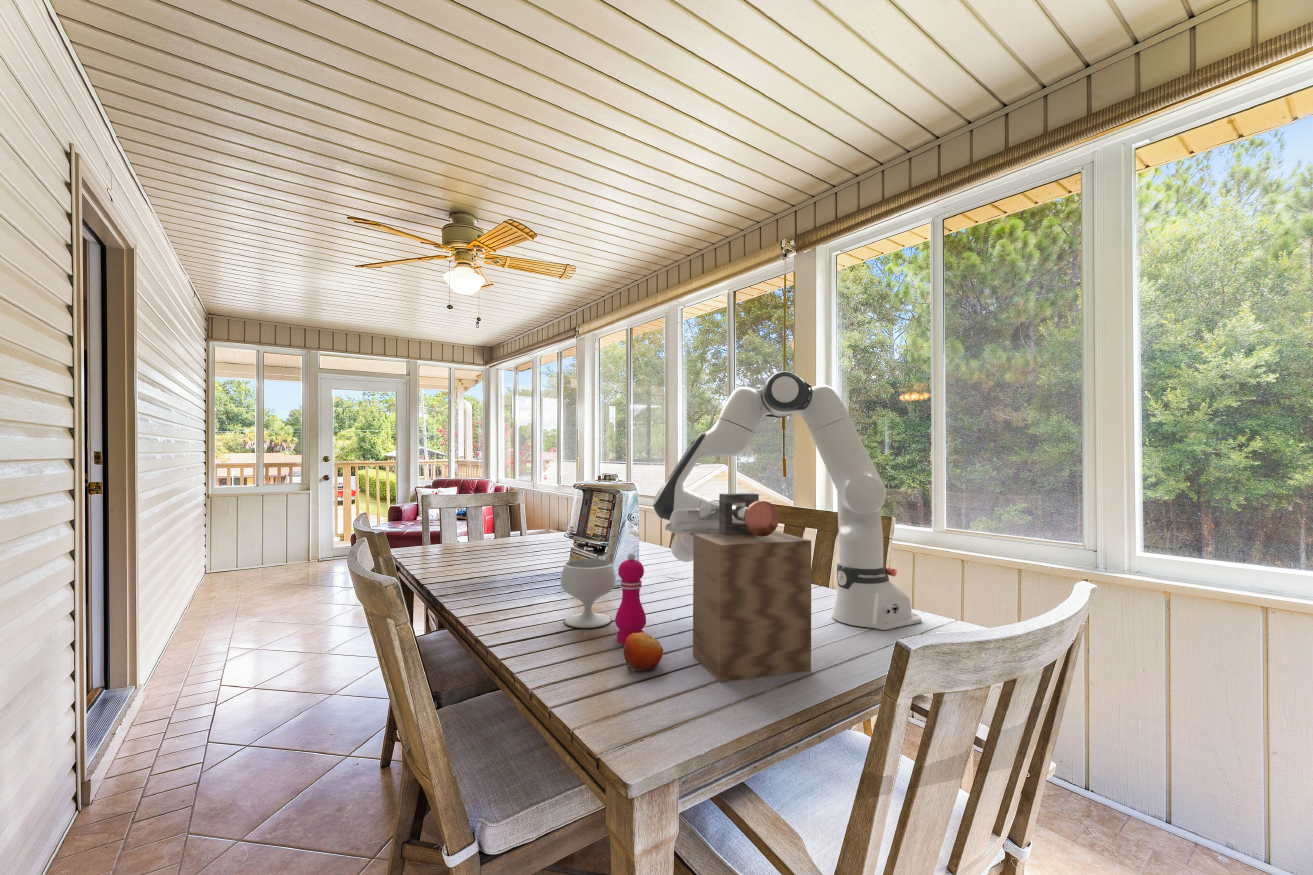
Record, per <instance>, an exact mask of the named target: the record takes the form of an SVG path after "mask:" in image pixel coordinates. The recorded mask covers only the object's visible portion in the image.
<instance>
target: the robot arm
mask: <svg viewBox="0 0 1313 875" xmlns="http://www.w3.org/2000/svg"><path fill="white" fill-rule="evenodd" d="M793 414H798V415H799V416H800V417H801V418H802V419H803V420H804V422H805V424H806V426H807V428H808V431H809V433H810V435H811V438H812V439H813V441H814V444H815V447H816V449H817V451H818V453H819V455H820V458H821V460H822V462H823V463H824V465H825V468H826V470H827V473H828V474H829V476H830V478H831V480H832V483H833V485H834V487H835V489H836V491H837V492H836V493H837V495H836V496H837V497H836V498H837V529H838V563H836V580H837V591H836V598H835V599H836V600H835V604H834V607H833V612H832V615H831V617H832V618H833V619H834V620H836V621H838V622H840V623H843V624H846V625H850V626H856V627H863V628H864V627H865V628H871V629H877V630H880V631H881V630H883V631H887V630H891V629H896V627H897V628H899V627H905V626H910V625H914V624H920V623H922V618H921V616H919V615H918V614H916V613H915V612H912V611H913V610H912V604H911V601H910V600H911V599H910V597H909V596H908V595H907V594H906V593H905V592H904V591H903V590H902V589H901V588H899V587H898V586H896V585H895V584H894V583H892V582H891V581H890V578H889V576H891V577H896V576H897V574H898V571H897V569H896V568H892V567H885V566H884V534H883V525H882V524H883V523H882V513H881V512H882V511H881V508H883V506H884V503H885V502H886V499H887V489H886V485H885V484H884V482H883V480H882V478H881V476H880V474H879V471H878V470H877V468H876V466H875V464H874V462H873V460H872V458H871V457H870V455H869V452H867V451H868V450H866V448H865V446H864V443H863V442H862V439H861V437H860V435H859V433H858V431H857V429H856V427H855V424H854V422H853V421H852V418H851V416H850V414H849V412H848V410H847V408H846V406H845V404H844V403H843V401H842V399H841V397H839V395H838V394H837V392H836V391H835V389H834V388H833V387H831V386H830V385H827V384H818V385H814V386H812V385H811V384H810V383H809V382H807V381H805V380H804V379H803V378H801V377H800V376H798V375H797V374H795V373H793V372H791V371H787V370H786V371H785V370H783V371H778V372H775V373H773V374H772V375H771V376H770V377H768V378H767V379H766V381H765V383H764V385H763V386H762V387H761V388H760V389H754V388H752V387H747V386H740V387H737V388H735V389H734V390H733V391H732V392H731V394H730V396H729V397H728V399H727V400H726V402H725V403H724V405H723V407H722V409H721V411H720V413H719V415H718V417H717V420H716V421H715V423H714V425H713V426H712V427H711V428H710V429H708V430H707V431H703V432H699V433H698V434H697V436H695V438H694V439H693V441H691V443H690V445H689V446H688V448H687V449H686V451H685V452H684V454H683V455H682V456H681V459H680V460H679V461H678V463H677V464H676V466H675V468H674V469H673V471H672V472H671V473H670V475H669V477H668V478H667V480H665V483H664V484H662V486H661V487H660V488H659V489H658V490H657V492H656V494H655V496H654V499H653V504H652V506H653V509H654V511H655V513H656V515H657V516H658V518H660V519H663V520H666V521H669V522H668V523H667V524H666V525H665V526H664V529H665V531H668V532H671V533H672V534H675V535H674V537H673V538H672V541H671V544H670V551H671V554H672V555H673V556H674V558H675V559H677V560H678V561H680V562H683V563H690V562H693V539H694V534H714V533H719V514H715V512H716V507H715V504H709V502H710V501H713V500H714V499H712V498H710V497H708V496H704V495H702V494H699V493H698V492H697V493H696V492H695V491H692V490H690V489H687V488H685V487H684V486H683V485H684V483H685V481H686V479H687V478H688V476H689V475H690V473H691V472H692V470H693V468H694V467H695V466H696V464H697V463H698V462H699V461H700V460H701V459H705V458H708V457H721V458H724V457H725V458H726V457H727V458H728V457H730V458H731V457H737V456H740V455H742V454H743V453H745V452H746V451H747V450H748V449H749V447H750V446H751V443H752V442H753V440H754V437H755V435H756V433H757V430H758V428H759V426H760V424H761V422H762V420H763V419H764V417H766V418H767V417H768V418H769V417H770V418H777V419H778V418H787V417H789V416H791V415H793ZM708 504H709V505H708ZM739 522H744V521H741V520H737V519H733V518H732V523H739Z"/></svg>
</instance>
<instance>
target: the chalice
mask: <svg viewBox="0 0 1313 875" xmlns="http://www.w3.org/2000/svg"><path fill="white" fill-rule="evenodd" d="M616 580H617V579H616V572H615V569H614V566H613V563H612V562H611V561H609V560H607V559H602V558H601V559H600V558H578V559H573V560H569V561H567V562H566V563H565V564H564V566H563V569H562V571H561V575H560V585H561V587H562V590H564V592H565V593H566V594H568V595H570V596H572V597H574V598H576V599H578V600H579V601H580V602H581V603H582V605H583V607H584V608H583V609H584V610H583V612H582V613H575V614H571V615H568V616H567V617H565V618H564V619H563V623H564V624H565V625H567V626H569V627H571V628H572V627H573V628H580V629H590V628H591V629H594V628H599V627H603V626H606V625H609V624H610V623H611V622H612V618H611V616H609V615H607V614H604V613H598V612H593V609H592V607H593V606H594V605H593V604H594V603H595V602H596V601H597V600H598V599H600V598H601V597H603V596H605V595H607V594H608V593H610V592H611V591H612V590H613V589H614V587H615V586H616V582H617V581H616Z"/></svg>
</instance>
